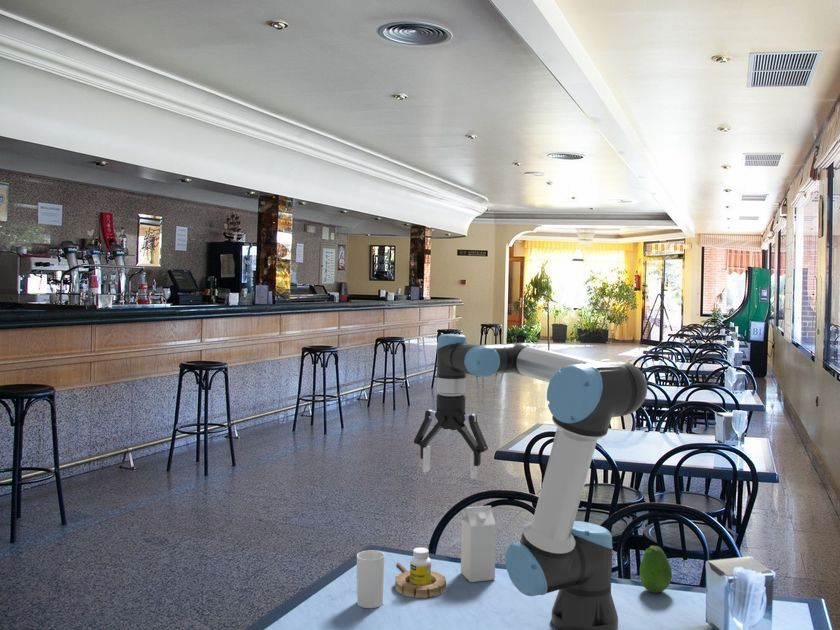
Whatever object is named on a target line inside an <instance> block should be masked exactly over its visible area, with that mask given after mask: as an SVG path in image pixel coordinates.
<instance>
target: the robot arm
mask: <svg viewBox="0 0 840 630" xmlns="http://www.w3.org/2000/svg"><path fill="white" fill-rule="evenodd" d="M466 336H467V335H464V334H459V333H458V334H457V333H456V334H455V333H447V334H446V333H444V334H443V333H442V334H440V335H439V336H438V337H437V348H436V393H437V394H436V403H435V404H436V405H435V407H436V411H435V410H433V409H428V410H427V409H426V411H424V412H425V413H424V418H423V421H422V423H421V425H420V427H419V429H418V431H417V433H416V435H415V437H414V439H413V444H416V445H418V446H419V447H420V455H419V456H420V459H421V460H422V473H427V472H429V471H431V445H429V444H430V442H431V441H433V439H434V438H435V436H437V435H438V433H439V432H440V431H441V430H442V429H443V430H451V431H457V432H458V433H460V435H461V437H463V439H464V440H465V443H466V444H467V445H468V446H469V448H470V450H471V451H472V452H471V453H470V465H469V466H470V467H469V468H470V471H469V472H470V474H469V475H470V476H469V477H470V480H474V479H477V478H478V467H480V465H481V462H482V461H481V457H482V456H481V455H482V453H485V452H486V451H488V449H489V446H488V445H487V442H486V440H485V438H484V435H483V433H482V430H481V428H480V426H479V423H478V416H477V414H476V413H472V414H466V395H465V394H464V393H466V386H467V385H466V383H467V382H466V379H467V375H470V376H475V377H482V378H483V377H484V378H488V377H491V376H493V375H498V374H500V375H501V374H502V375H503V374H516V375H520V376H522V377H523V376H525V377H527V378H531V379H534V380H539V381H542V382H547V383H548V386H547V389H546V400H547V401H548V404H547V407H548V409H549V413H551V415H552V417H551V419H552V422H553V423H554V426H556V430H555V434H554V438H553V441H552V446H551V450H550V454H549V458H548V460H547V461H548V462H547V465H546V469H545V473H544V476H543V481H542V484H541V486H540V487H541V488H540V492H539V496H538V499H537V503H536V507H535V510H534V514H533V519H532V520H531V521H529V522H527V523H526V524H525V525H524V527H523V529H522V532H521V537H520V541H515V542H513V543H512V544H510V545H508V547H507V548H506V550H505V556H504V559H505V562H504V563H505V567H506V568H505V569H506V571H507V574H508V577H509V578H510V579H509V580H510V581H511V583H512V585H513V586H514V587H515V588H516V590H518V592H520V593H521V594H522V595H525V596H526V597H535V596H544V595H546V594H549V593H552V592H556V591H557V595H556V598H555V601H554V603H553V606H552V608H551V609H552V610H551V623H552V625H553V626H554V627H555V628H556V629H558V630H619V629H618V628H619V616H618V613H617V609H616V606H615V602H614V599H613V596H612V575H613V574H612V569H613V568H612V567H613V549H614V547H613V536H612V533H611V532H610V530H608V529H607V528H606V527H603V526H601V525H599V524H594V523H591V522H588V521H578V520H576V517H577V513H578V509H579V506H580V503H581V499H582V496H583V491H584V489H585V485H586V481H587V479H588V475H589V470H590V467H591V463H592V460H593V457H594V453H595V449H596V447H597V446H596V445H597V442H598V440H599V439H601V438H603V437H606V436H607V434H608V431H609V428H610V425H611V422H612V421H611V420H612V419H613V418H618V417H625V416H628V415H630V414H633V413H635V412H636V411H638V409H639V408H640V407H641V406H642V405H643V404H644V402H645V400H646V398H647V394H648V383H647V380H646V377H645V375H644V373H643V371H642V370H640V369H639V367H637V366H635V365H634V364H633V363H630V362H629V361H624V360H623V361H622V360H619V361H618V360H615V359H614V360H613V359H608V358H606V359H602V360H601V361H600V360H599V361H597V360H592V359H589V358H583V357H579V356H574V355H569V354H565V353H562V352H561V353H560V352H556V351H552V350H548V349H543V348H539V347H536V346H535V345H534V344H532V343H529V342H528V343H527V342H516V343H515V342H514V343H513V342H512V343H496V344H495V343H492V344H491V343H490V344H489V343H487V344H473V343H472V344H471V343H467V337H466ZM434 418H436V420H437V422H436V424H434V426H433V427H432V429H431V430H430V431H429V433H428V434H427V435H426V433H427V431H428V429H429V427H430V425H431V422H433V421H432V420H433V419H434ZM465 421H466V422H467V423H468V424H469V427H470V429H471V432H472V434H473V435H472V434H471V432H470V431H469V429H468V427H467V425H466V424H465ZM425 435H426V436H425Z"/></svg>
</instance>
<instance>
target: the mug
mask: <svg viewBox="0 0 840 630" xmlns="http://www.w3.org/2000/svg"><path fill="white" fill-rule="evenodd" d="M384 577H385V553H384V552H383V551H381V550H374V549H372V550H369V549H368V550H363V551H360V552H358V553H357V554H356V595H357V596H356V600H357V601H356V603H357V605H358V606H359V607H361V608H365V609H376V608H380V607H381V606H382V605H383V602H384V587H385V585H384V584H385V583H384V582H385V580H384Z"/></svg>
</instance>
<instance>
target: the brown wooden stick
mask: <svg viewBox="0 0 840 630" xmlns="http://www.w3.org/2000/svg"><path fill="white" fill-rule="evenodd" d="M396 566H397V567H398V568H399V569H400V570H401V571H402V573H403V572H407V571H408V570H407V569H406V568H405V567H404V566H403V565H402V564H401V563H400V562H396Z"/></svg>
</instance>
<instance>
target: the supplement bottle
mask: <svg viewBox="0 0 840 630" xmlns="http://www.w3.org/2000/svg"><path fill="white" fill-rule="evenodd" d="M429 553H430V551H429V549H428V548H426V547H416V548H413V550H412V555H413V557H412V558H410V561H409V563H410V564H409V565H410V566H409V567H410V568H409V569H410V570H409V571H410V583H409V584H412V585H416V586H426V585H431V584H432V583H431V571H432V560H431V558H430V557H429V556H430V555H429Z"/></svg>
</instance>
